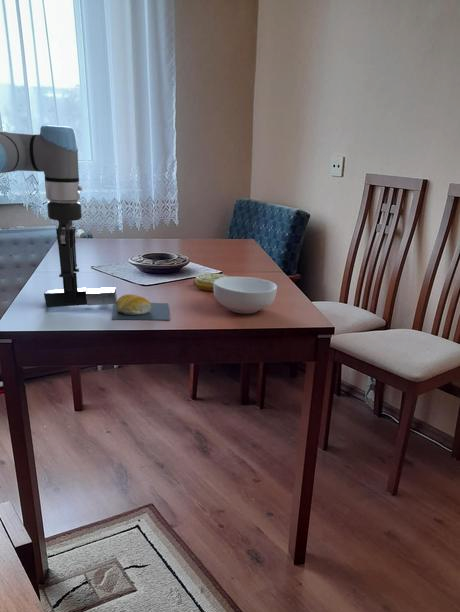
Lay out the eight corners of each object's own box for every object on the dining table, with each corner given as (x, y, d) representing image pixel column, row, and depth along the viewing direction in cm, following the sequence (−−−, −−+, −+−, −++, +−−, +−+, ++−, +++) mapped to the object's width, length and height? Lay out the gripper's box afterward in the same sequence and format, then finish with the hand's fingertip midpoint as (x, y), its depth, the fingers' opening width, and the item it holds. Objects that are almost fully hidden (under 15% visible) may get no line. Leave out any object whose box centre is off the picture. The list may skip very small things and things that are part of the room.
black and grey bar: (46, 308, 136) (43, 294, 134) (48, 303, 140) (46, 289, 138) (116, 303, 137) (114, 290, 136) (116, 298, 141) (115, 285, 140)
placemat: (112, 319, 134) (112, 319, 134) (115, 303, 147) (115, 302, 147) (169, 320, 136) (169, 319, 136) (168, 303, 149) (168, 303, 149)
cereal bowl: (284, 318, 143) (286, 291, 140) (222, 320, 139) (223, 292, 135) (262, 299, 157) (264, 274, 154) (205, 301, 153) (206, 275, 150)
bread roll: (134, 303, 146) (134, 288, 145) (156, 312, 141) (156, 296, 139) (108, 309, 141) (107, 293, 139) (129, 318, 136) (129, 302, 134)
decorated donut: (234, 292, 162) (234, 280, 160) (197, 292, 160) (198, 279, 158) (227, 283, 171) (228, 271, 169) (193, 283, 169) (193, 270, 167)
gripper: (76, 206, 121) (83, 310, 131) (84, 197, 135) (89, 292, 146) (40, 205, 120) (51, 310, 130) (52, 196, 134) (60, 291, 144)
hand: (71, 300), depth 138 cm, fingers closed on black and grey bar, 3 cm apart
